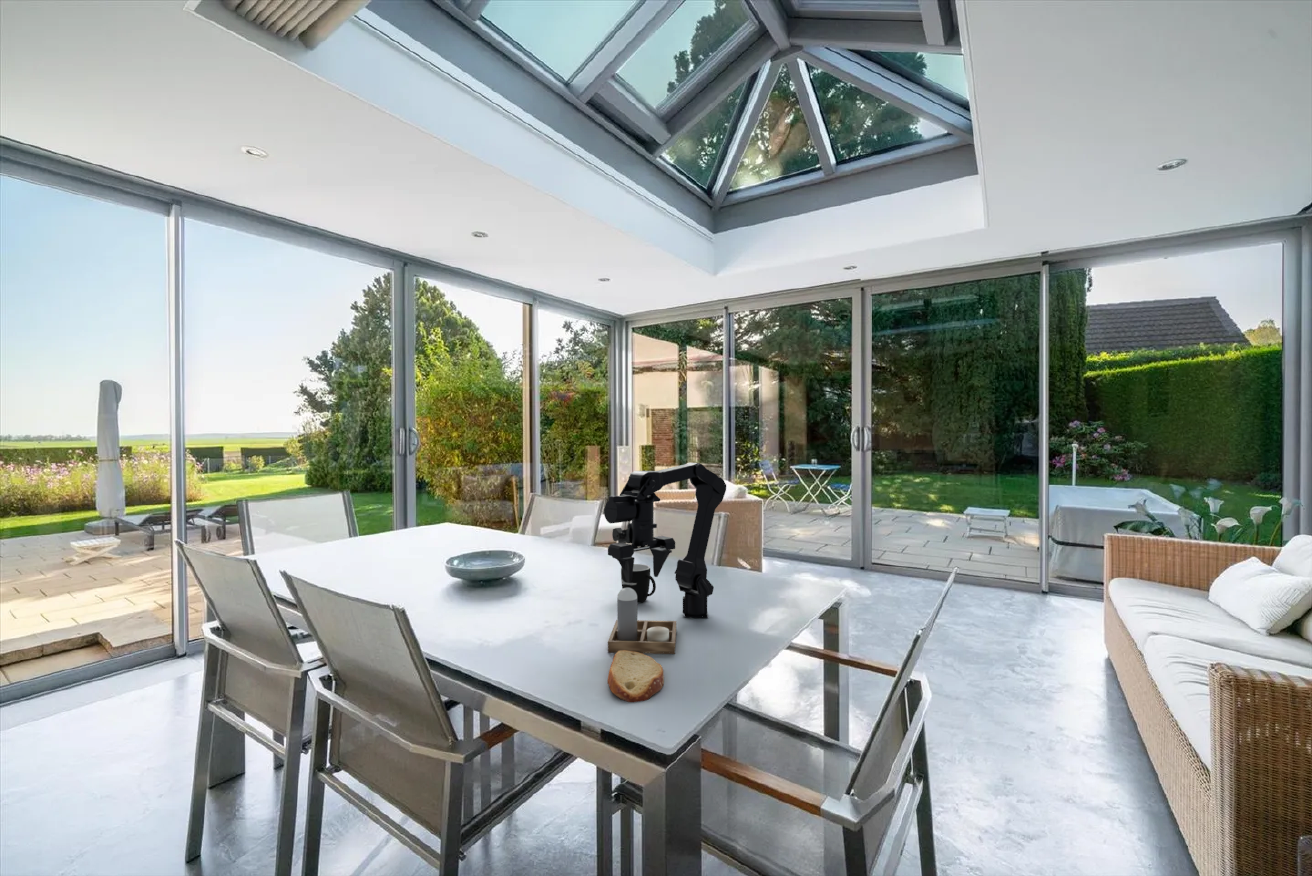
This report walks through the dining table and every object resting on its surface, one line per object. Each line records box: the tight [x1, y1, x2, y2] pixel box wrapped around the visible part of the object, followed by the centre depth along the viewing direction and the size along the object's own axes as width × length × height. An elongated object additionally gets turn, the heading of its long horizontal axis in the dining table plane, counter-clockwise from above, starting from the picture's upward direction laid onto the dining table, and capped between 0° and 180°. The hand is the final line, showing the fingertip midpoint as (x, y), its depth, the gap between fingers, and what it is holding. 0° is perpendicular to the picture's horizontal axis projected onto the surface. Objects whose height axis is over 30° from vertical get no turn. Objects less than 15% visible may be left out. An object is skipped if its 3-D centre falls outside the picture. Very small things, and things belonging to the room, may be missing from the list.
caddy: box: [607, 619, 677, 655], centre depth 139 cm, size 16×16×4 cm
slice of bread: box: [607, 650, 665, 703], centre depth 118 cm, size 18×18×4 cm
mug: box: [620, 563, 657, 604], centre depth 173 cm, size 12×9×10 cm
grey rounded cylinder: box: [616, 588, 638, 641], centre depth 136 cm, size 5×5×13 cm
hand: (642, 579), depth 147 cm, fingers open, 9 cm apart
